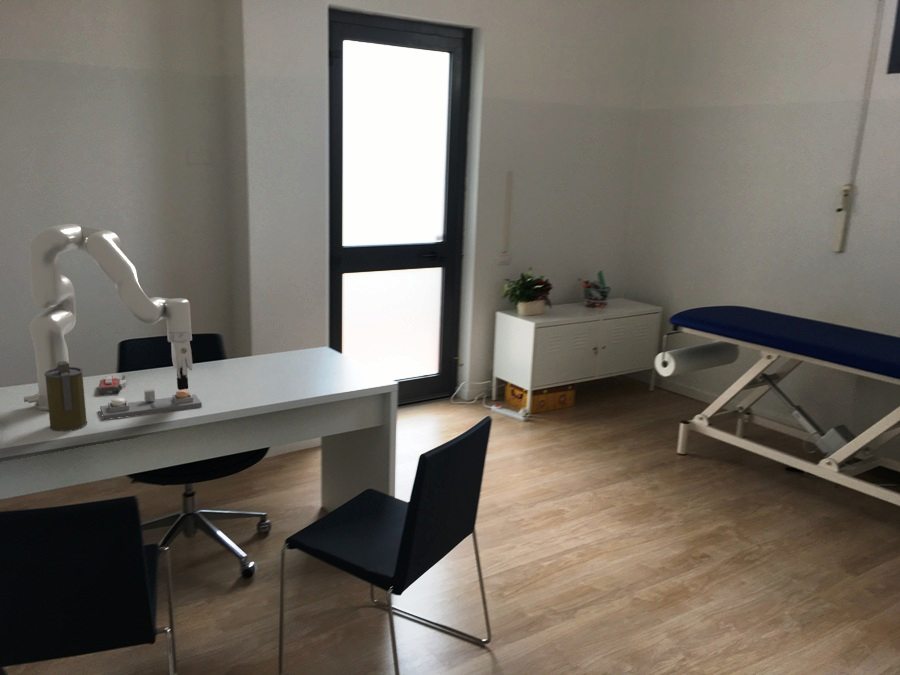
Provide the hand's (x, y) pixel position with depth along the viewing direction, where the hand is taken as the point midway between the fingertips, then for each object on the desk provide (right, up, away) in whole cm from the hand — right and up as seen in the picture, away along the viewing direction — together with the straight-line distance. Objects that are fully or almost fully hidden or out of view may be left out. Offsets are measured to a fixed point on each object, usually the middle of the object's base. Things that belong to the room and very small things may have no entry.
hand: (182, 388), depth 248 cm
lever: (-11, -4, -2) cm, 11 cm away
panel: (-9, -6, -4) cm, 12 cm away
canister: (-27, -10, -21) cm, 36 cm away
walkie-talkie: (-32, -1, +18) cm, 36 cm away
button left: (-18, -5, -9) cm, 20 cm away
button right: (0, -3, +1) cm, 3 cm away
